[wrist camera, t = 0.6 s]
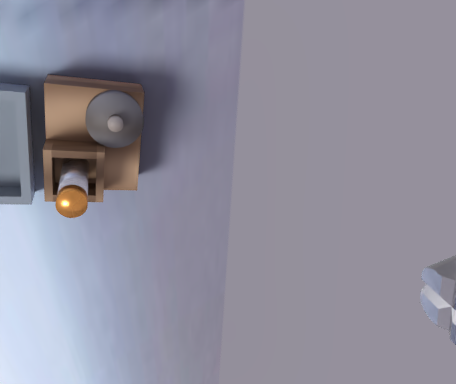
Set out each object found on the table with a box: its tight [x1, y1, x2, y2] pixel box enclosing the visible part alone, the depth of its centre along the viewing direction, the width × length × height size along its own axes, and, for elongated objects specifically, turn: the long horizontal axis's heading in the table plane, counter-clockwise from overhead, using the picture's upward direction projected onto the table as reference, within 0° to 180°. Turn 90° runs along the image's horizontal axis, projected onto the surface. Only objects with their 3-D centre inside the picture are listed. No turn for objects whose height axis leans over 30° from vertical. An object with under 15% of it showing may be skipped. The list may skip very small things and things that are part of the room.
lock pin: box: [56, 158, 89, 218], centre depth 41 cm, size 3×3×9 cm
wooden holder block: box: [43, 74, 144, 202], centre depth 45 cm, size 12×10×7 cm
